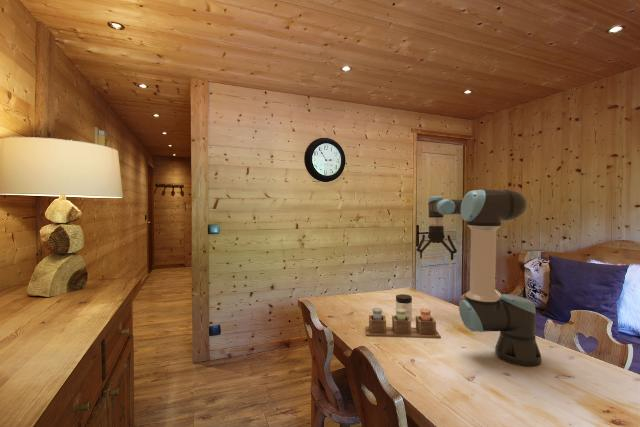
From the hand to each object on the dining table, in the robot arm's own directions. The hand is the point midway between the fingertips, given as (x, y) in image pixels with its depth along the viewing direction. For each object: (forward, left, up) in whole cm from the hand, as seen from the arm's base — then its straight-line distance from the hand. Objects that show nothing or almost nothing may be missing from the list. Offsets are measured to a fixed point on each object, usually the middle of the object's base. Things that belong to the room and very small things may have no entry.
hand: (436, 265), depth 169 cm
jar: (-5, +18, -28) cm, 33 cm away
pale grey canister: (-24, +33, -23) cm, 47 cm away
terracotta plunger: (-24, +11, -23) cm, 35 cm away
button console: (-24, +22, -27) cm, 42 cm away
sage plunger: (-24, +22, -23) cm, 40 cm away
